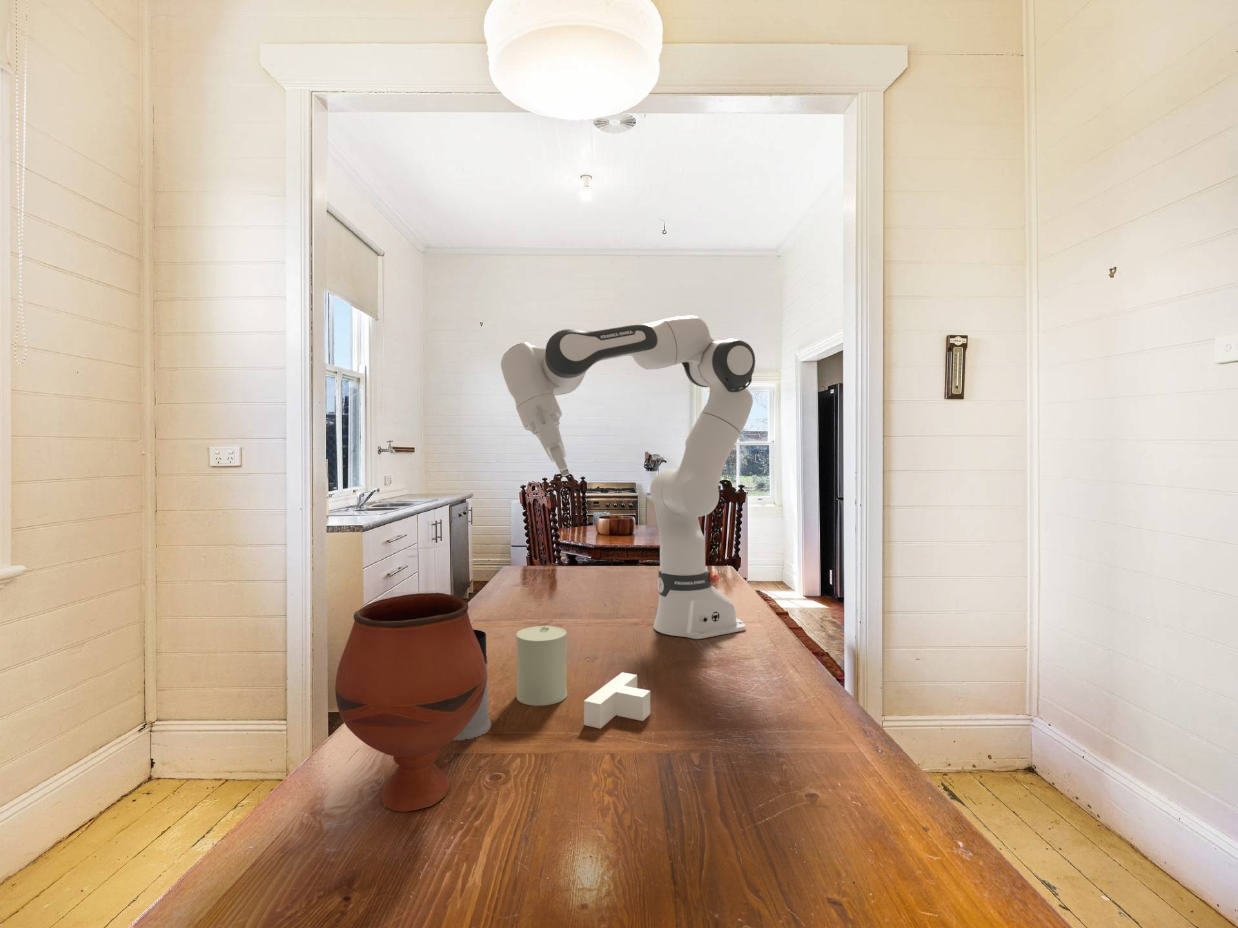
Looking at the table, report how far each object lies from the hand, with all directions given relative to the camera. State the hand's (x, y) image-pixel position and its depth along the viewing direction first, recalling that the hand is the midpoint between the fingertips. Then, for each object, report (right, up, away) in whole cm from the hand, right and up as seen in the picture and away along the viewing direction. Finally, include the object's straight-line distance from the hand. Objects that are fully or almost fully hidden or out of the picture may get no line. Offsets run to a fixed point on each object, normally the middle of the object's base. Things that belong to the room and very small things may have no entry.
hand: (564, 472), depth 136 cm
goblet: (-15, -42, -53) cm, 69 cm away
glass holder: (-14, -41, -37) cm, 57 cm away
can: (-2, -40, -21) cm, 46 cm away
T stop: (+13, -41, -29) cm, 51 cm away
